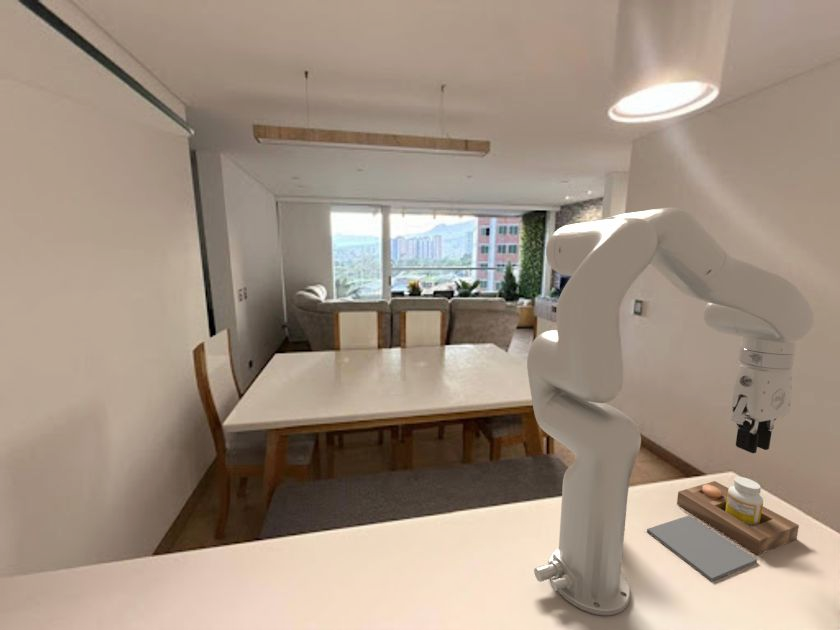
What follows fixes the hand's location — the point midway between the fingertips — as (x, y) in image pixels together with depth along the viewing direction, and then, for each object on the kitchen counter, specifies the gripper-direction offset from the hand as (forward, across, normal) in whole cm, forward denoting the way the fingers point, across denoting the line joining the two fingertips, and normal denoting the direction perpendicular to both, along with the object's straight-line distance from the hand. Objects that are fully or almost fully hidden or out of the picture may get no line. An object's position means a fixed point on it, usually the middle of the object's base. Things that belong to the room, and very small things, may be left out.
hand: (752, 447), depth 71 cm
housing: (+17, 0, +1) cm, 17 cm away
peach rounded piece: (+17, 0, +6) cm, 18 cm away
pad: (+17, -14, -1) cm, 22 cm away
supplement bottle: (+17, 0, 0) cm, 17 cm away
